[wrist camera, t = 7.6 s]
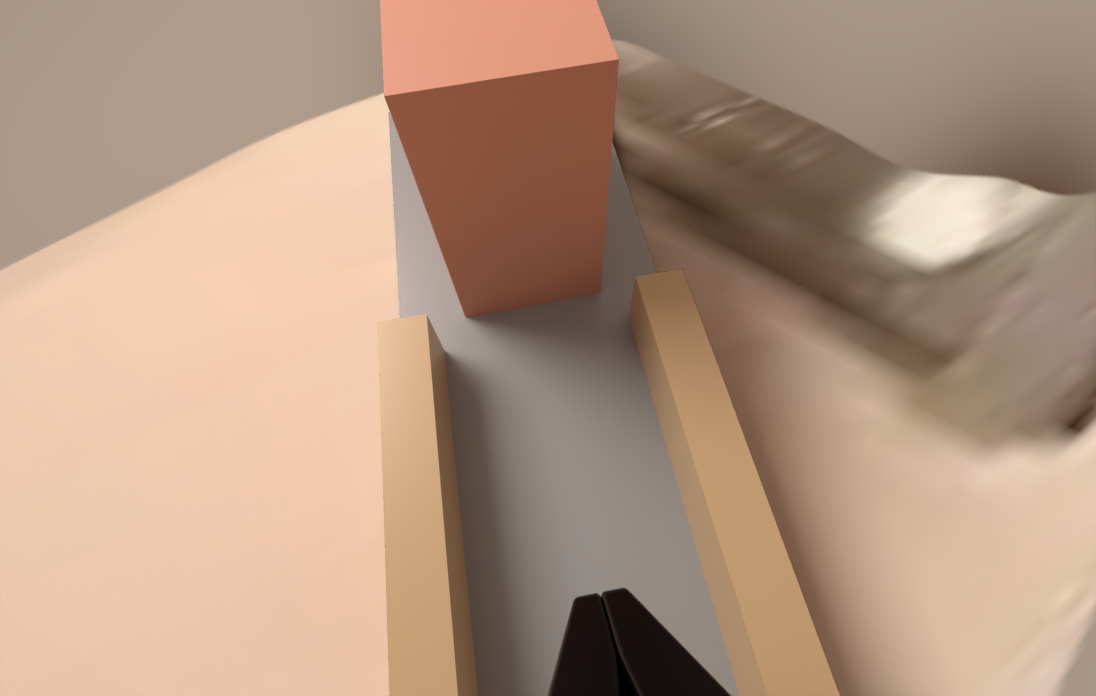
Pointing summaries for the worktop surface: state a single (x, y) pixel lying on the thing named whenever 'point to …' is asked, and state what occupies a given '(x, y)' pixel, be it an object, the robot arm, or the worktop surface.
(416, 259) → the chute
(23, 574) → the worktop surface
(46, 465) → the worktop surface
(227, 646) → the worktop surface
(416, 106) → the block
